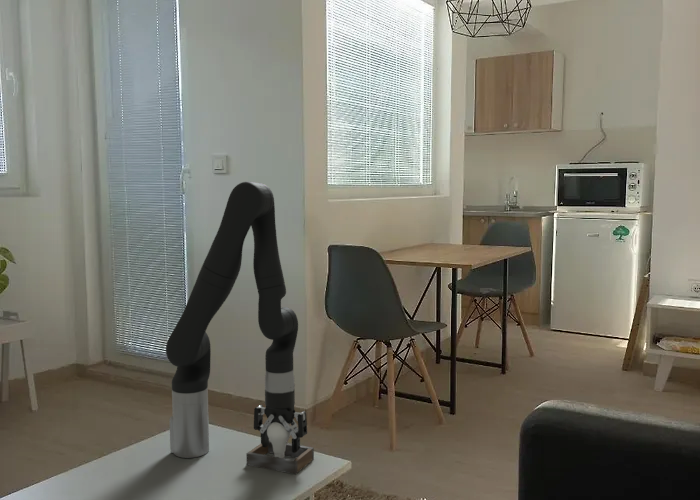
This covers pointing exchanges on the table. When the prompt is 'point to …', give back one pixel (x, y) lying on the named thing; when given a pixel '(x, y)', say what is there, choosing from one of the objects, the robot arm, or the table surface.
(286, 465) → the brown wooden shallow box
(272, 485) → the table surface
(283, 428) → the lightbulb
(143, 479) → the table surface
